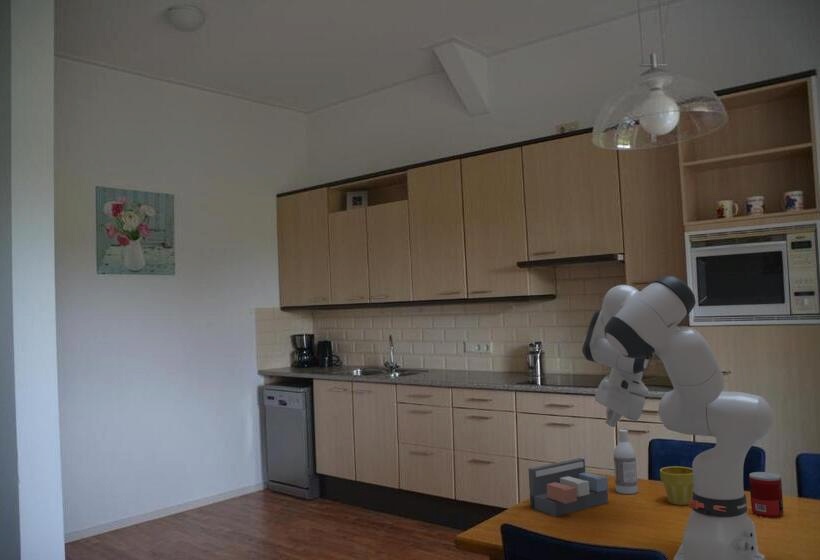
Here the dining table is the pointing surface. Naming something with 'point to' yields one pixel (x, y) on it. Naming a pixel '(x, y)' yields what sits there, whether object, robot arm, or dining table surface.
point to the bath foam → (625, 465)
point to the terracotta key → (561, 492)
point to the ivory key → (576, 485)
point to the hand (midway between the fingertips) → (609, 425)
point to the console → (553, 474)
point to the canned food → (766, 494)
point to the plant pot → (678, 484)
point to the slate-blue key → (595, 481)
